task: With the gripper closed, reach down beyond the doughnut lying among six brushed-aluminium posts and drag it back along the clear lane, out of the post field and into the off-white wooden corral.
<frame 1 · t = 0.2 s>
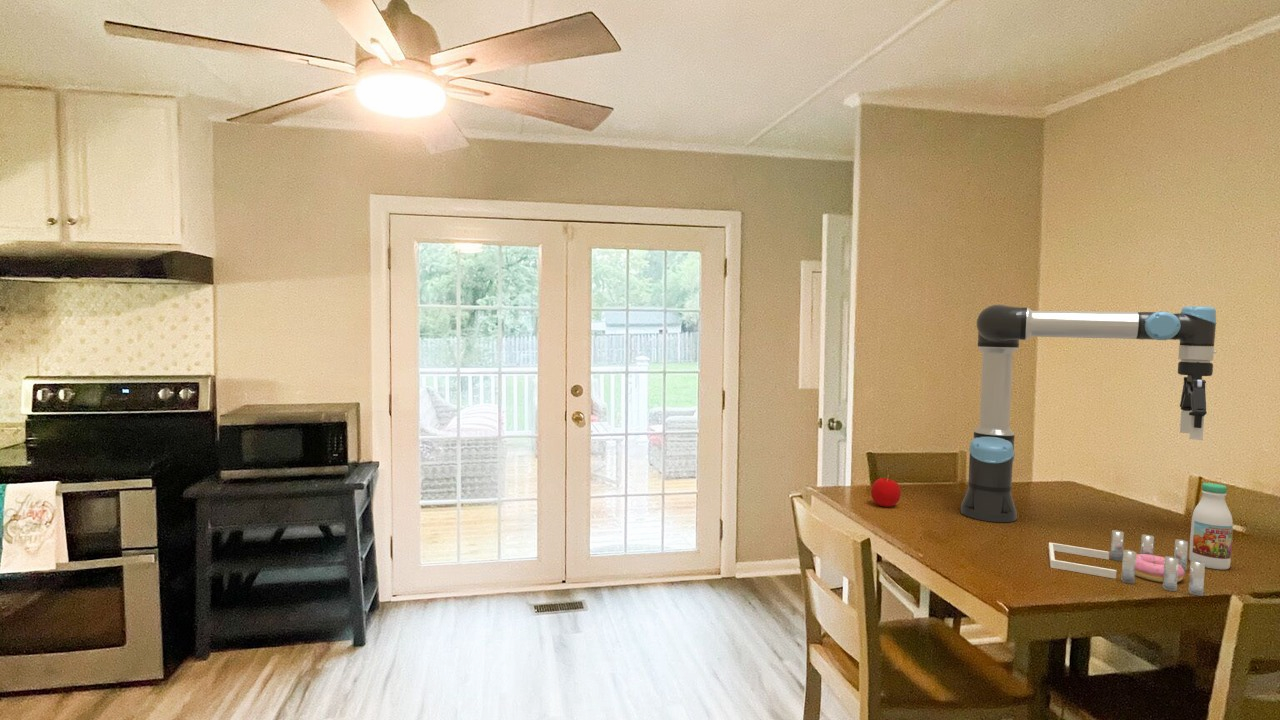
hand: (1190, 436, 186), 28 cm above the table, fingers open, 13 cm apart
doughnut: (1154, 577, 154), on the table
spacers: (1154, 575, 154), on the table
milk bottle: (1209, 565, 162), on the table
corral: (1085, 563, 160), on the table
fruit: (885, 505, 211), on the table
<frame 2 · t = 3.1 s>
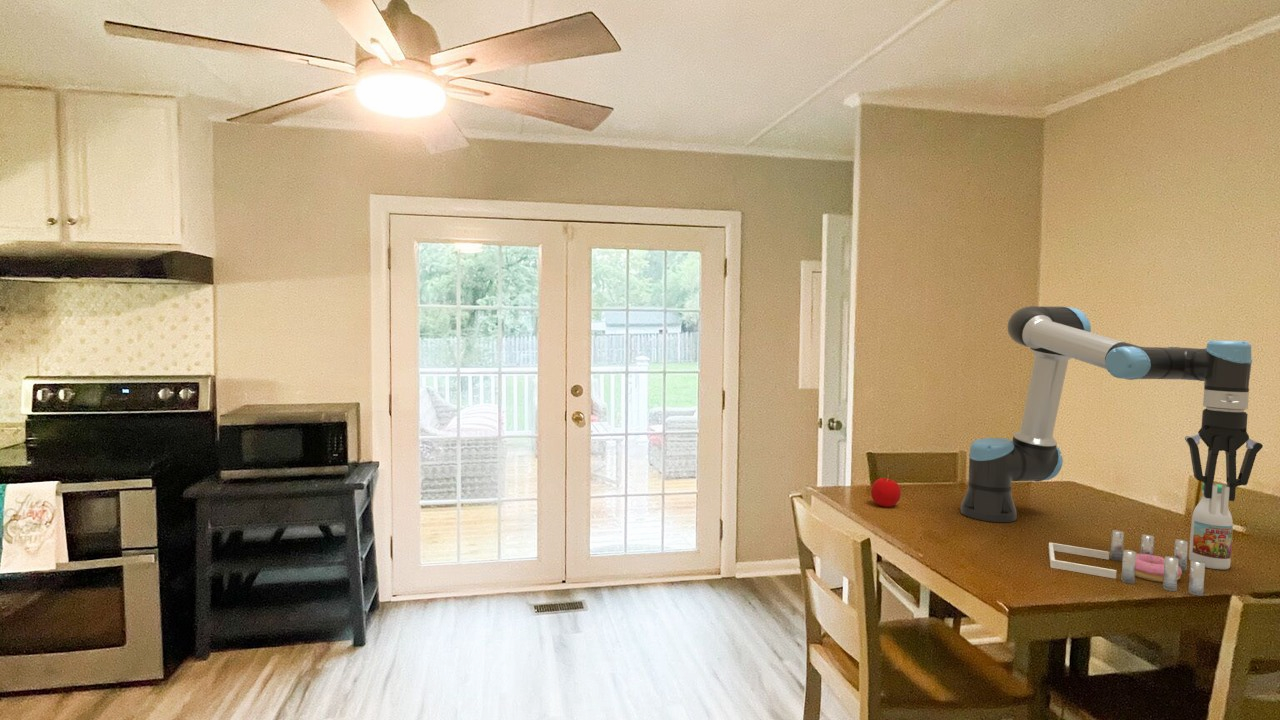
hand: (1217, 513, 147), 16 cm above the table, fingers closed
nothing on the table moved.
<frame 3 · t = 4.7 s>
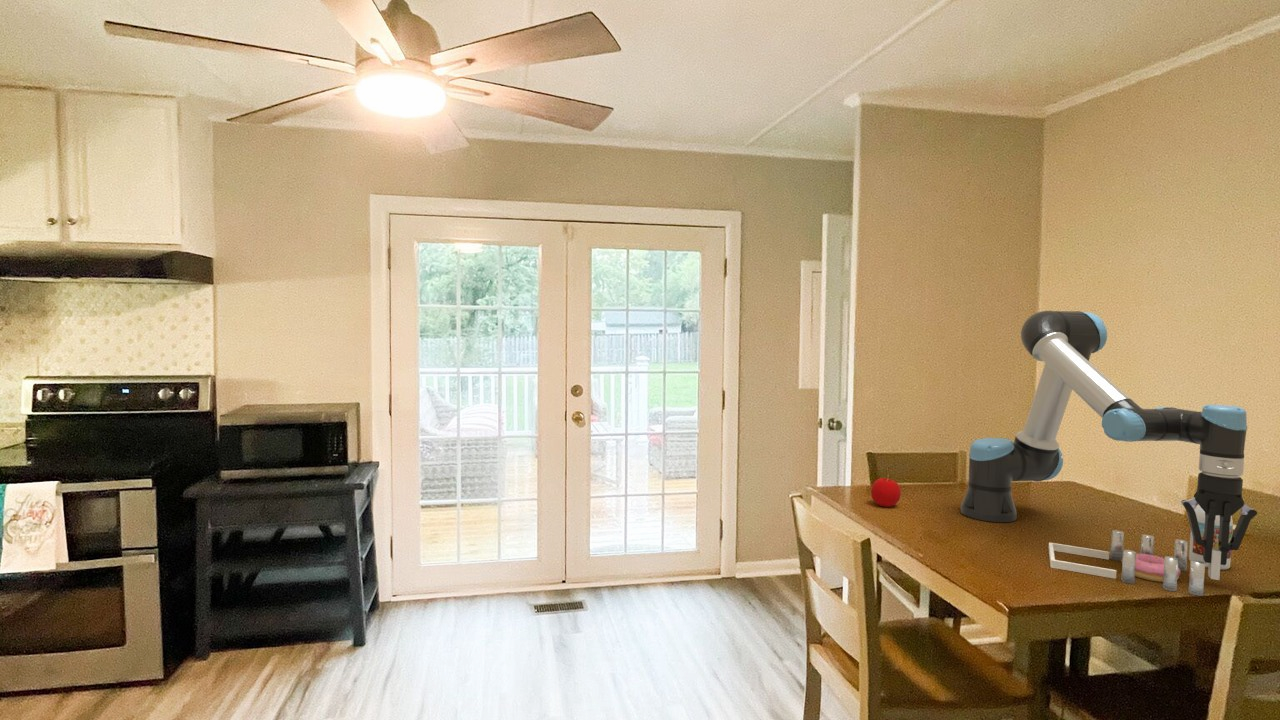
hand: (1213, 577, 148), 2 cm above the table, fingers closed
nothing on the table moved.
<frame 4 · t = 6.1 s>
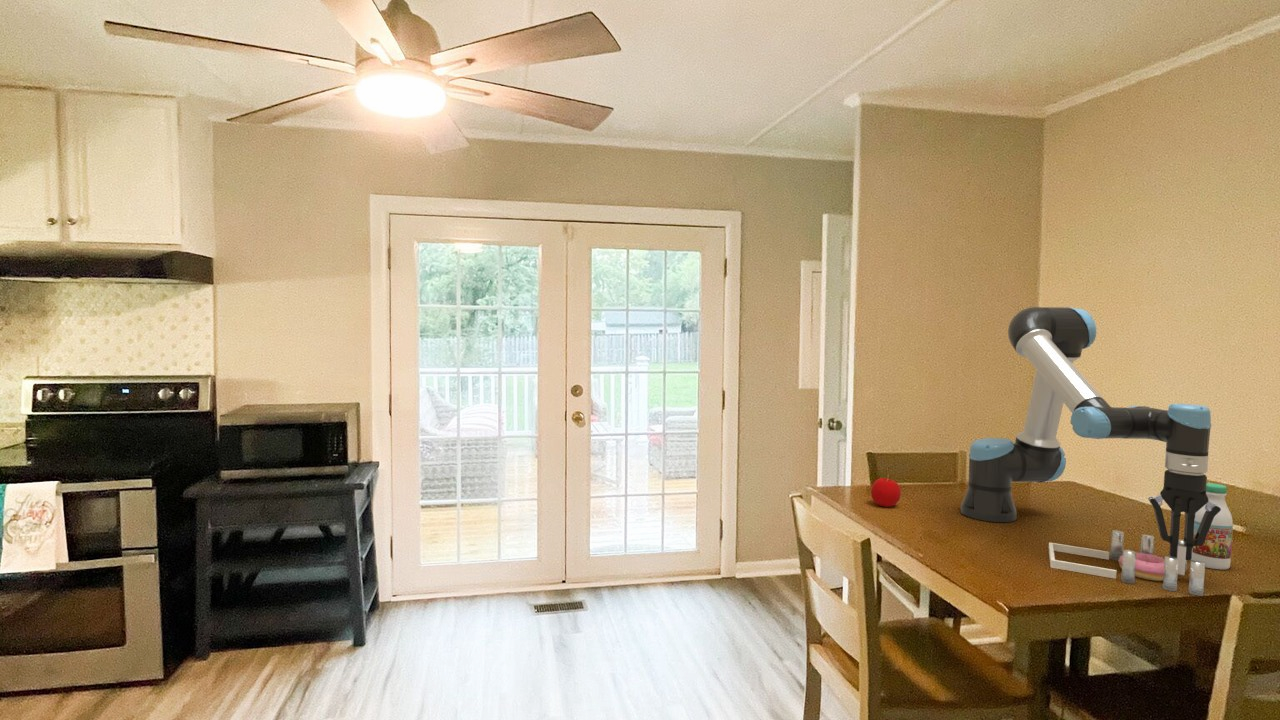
hand: (1179, 572, 151), 2 cm above the table, fingers closed
doughnut: (1146, 575, 154), on the table, touching gripper
everything else where it was.
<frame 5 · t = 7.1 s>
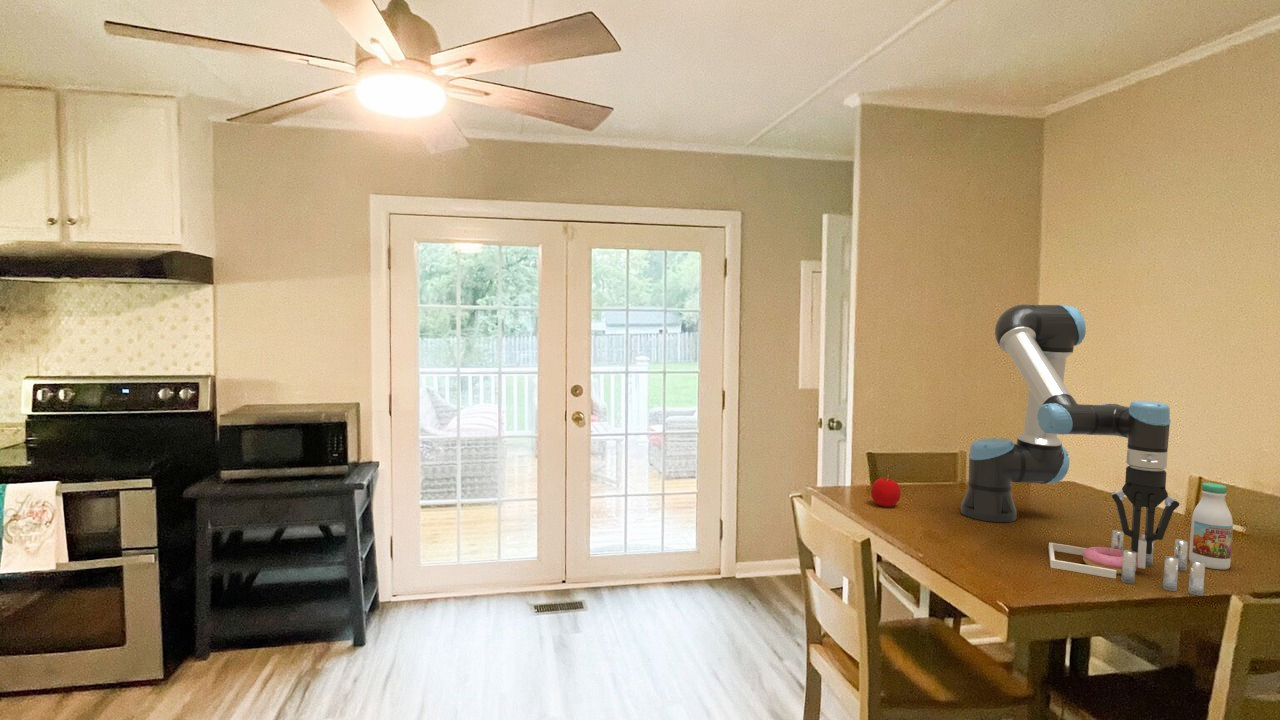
hand: (1140, 566, 155), 2 cm above the table, fingers closed
doughnut: (1109, 568, 158), on the table, touching gripper
everything else where it was.
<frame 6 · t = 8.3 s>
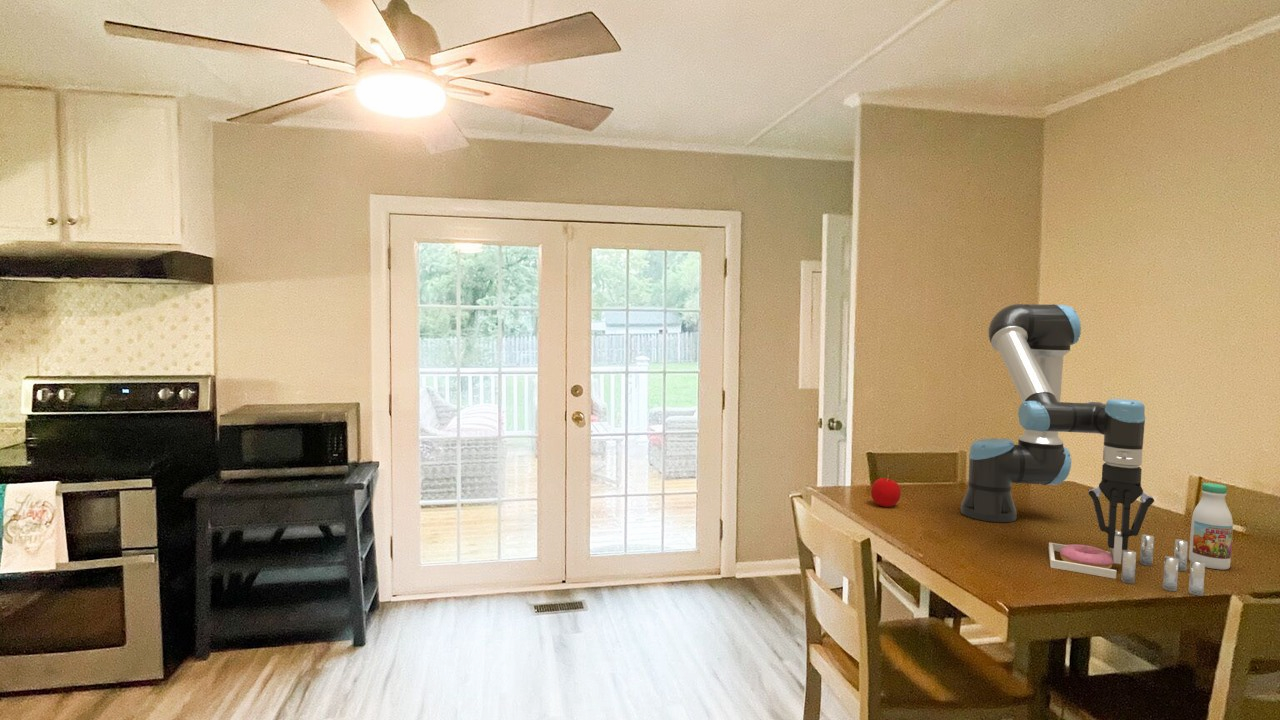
hand: (1116, 561, 157), 2 cm above the table, fingers closed
doughnut: (1085, 566, 160), on the table
everything else where it was.
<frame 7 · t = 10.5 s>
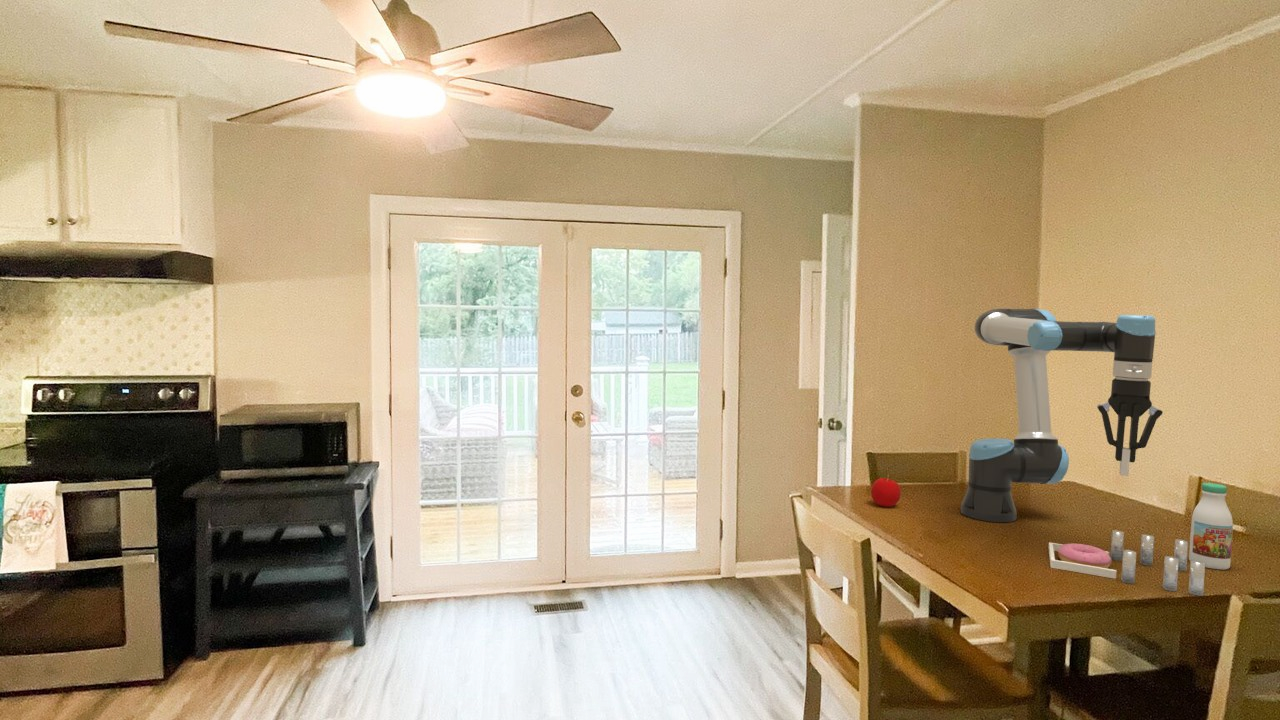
hand: (1123, 474, 160), 22 cm above the table, fingers closed
nothing on the table moved.
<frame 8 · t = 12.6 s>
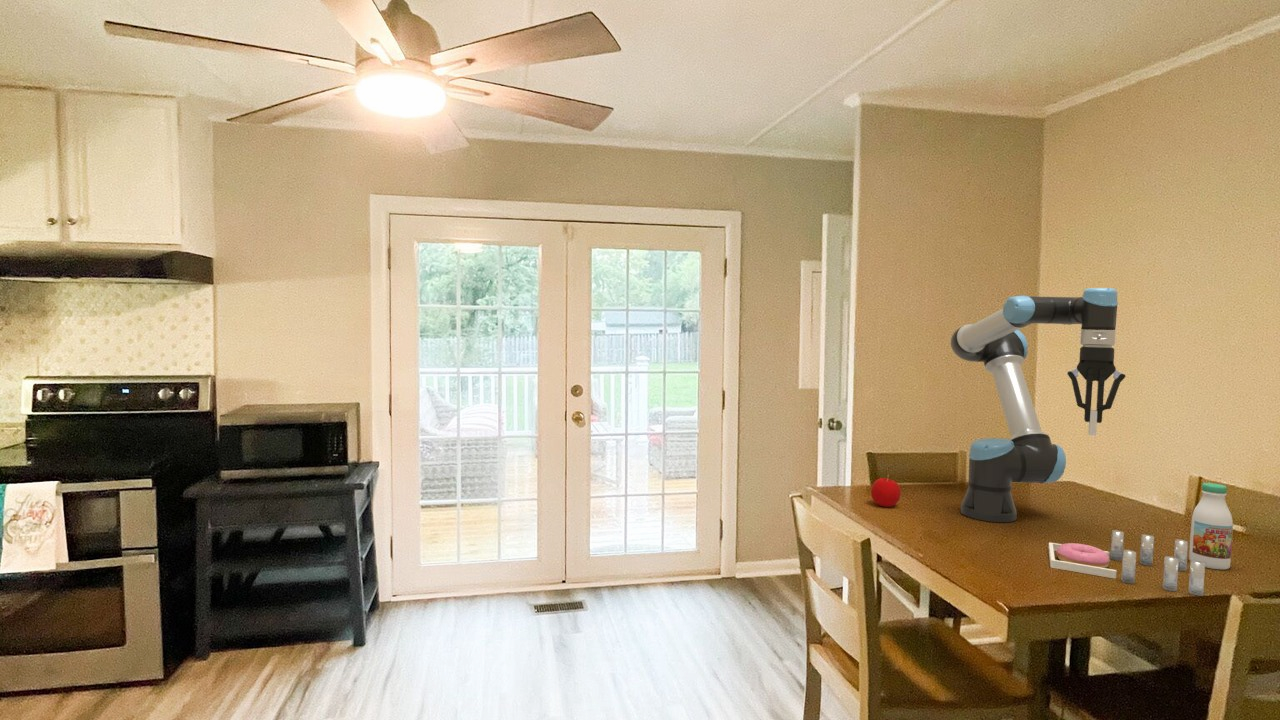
hand: (1092, 434, 175), 29 cm above the table, fingers closed
nothing on the table moved.
at the end: doughnut inside the target area (0.2 cm from its centre), on the table; doughnut moved 14.1 cm from its start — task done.
